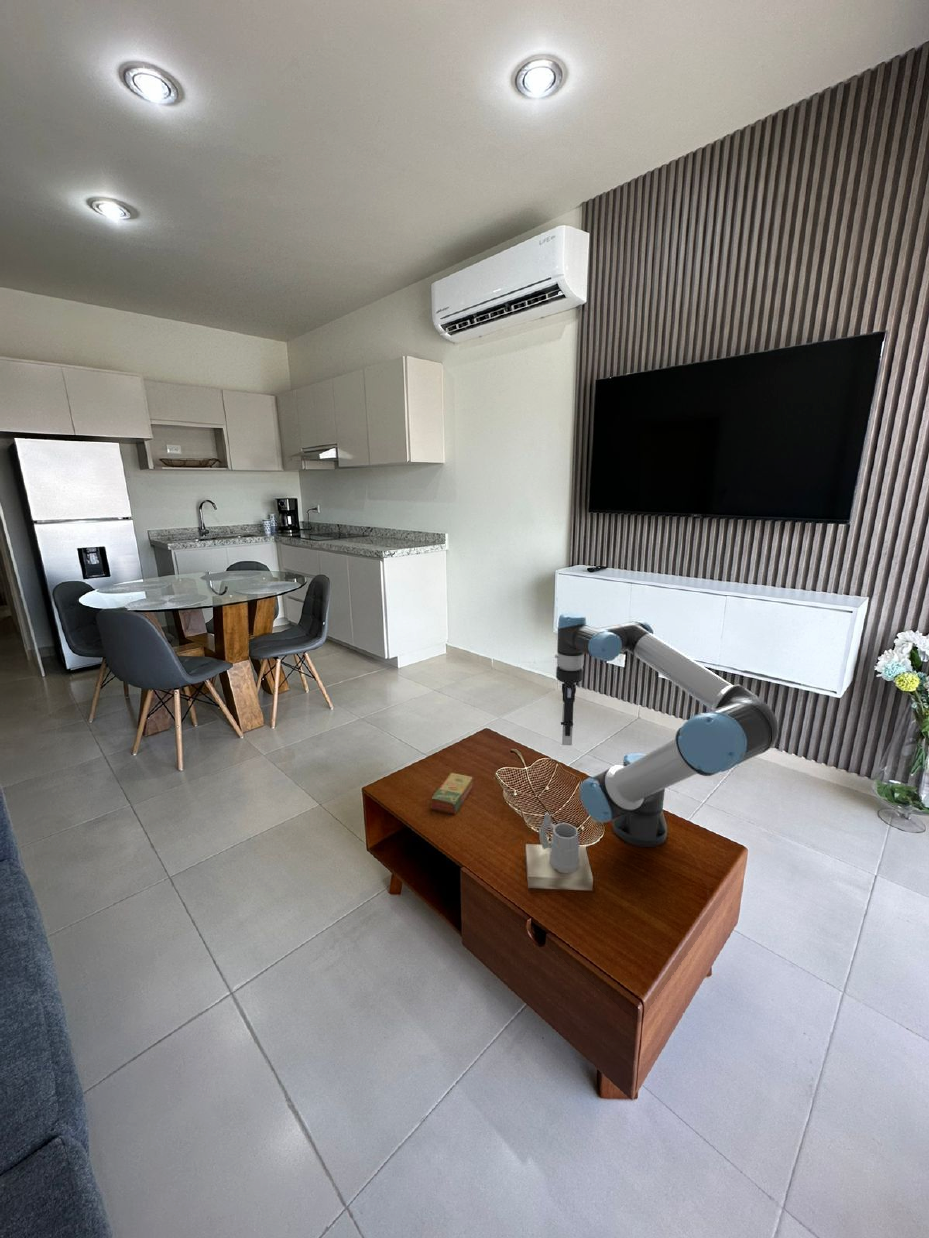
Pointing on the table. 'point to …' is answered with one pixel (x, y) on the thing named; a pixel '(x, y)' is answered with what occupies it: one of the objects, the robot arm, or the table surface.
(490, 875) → the table surface
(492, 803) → the table surface
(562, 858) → the mug
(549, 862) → the cream rectangular block
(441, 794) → the carton
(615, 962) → the table surface
